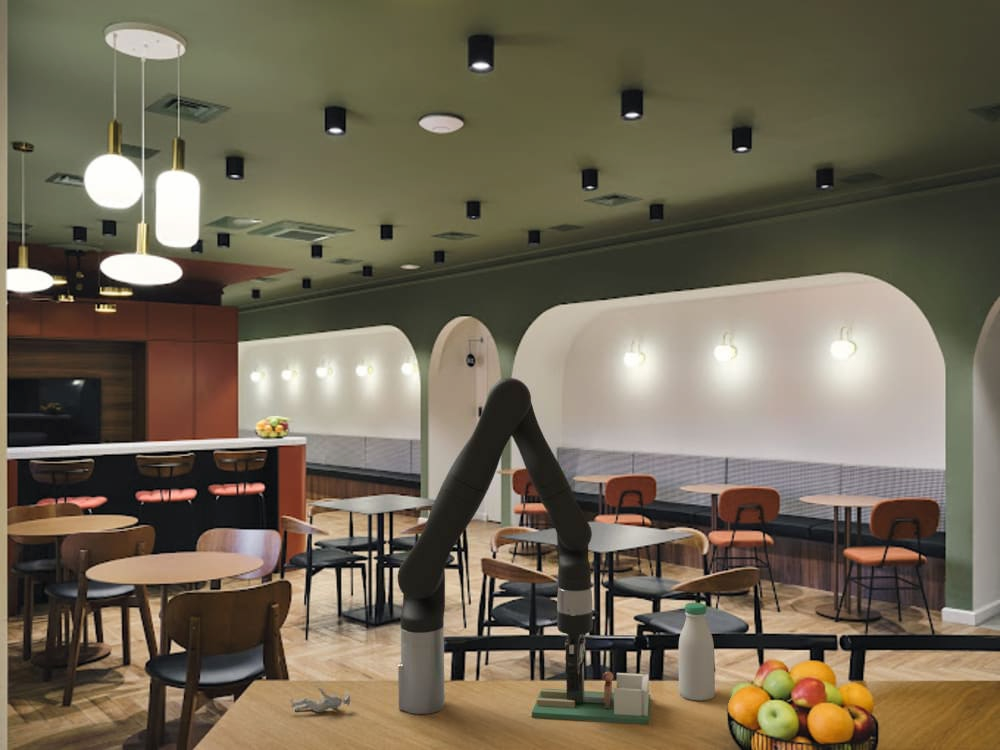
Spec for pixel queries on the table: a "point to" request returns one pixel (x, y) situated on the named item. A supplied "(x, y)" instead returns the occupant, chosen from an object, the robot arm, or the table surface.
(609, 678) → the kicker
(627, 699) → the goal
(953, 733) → the table surface
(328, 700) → the soldier figure
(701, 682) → the milk bottle
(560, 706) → the pitch
